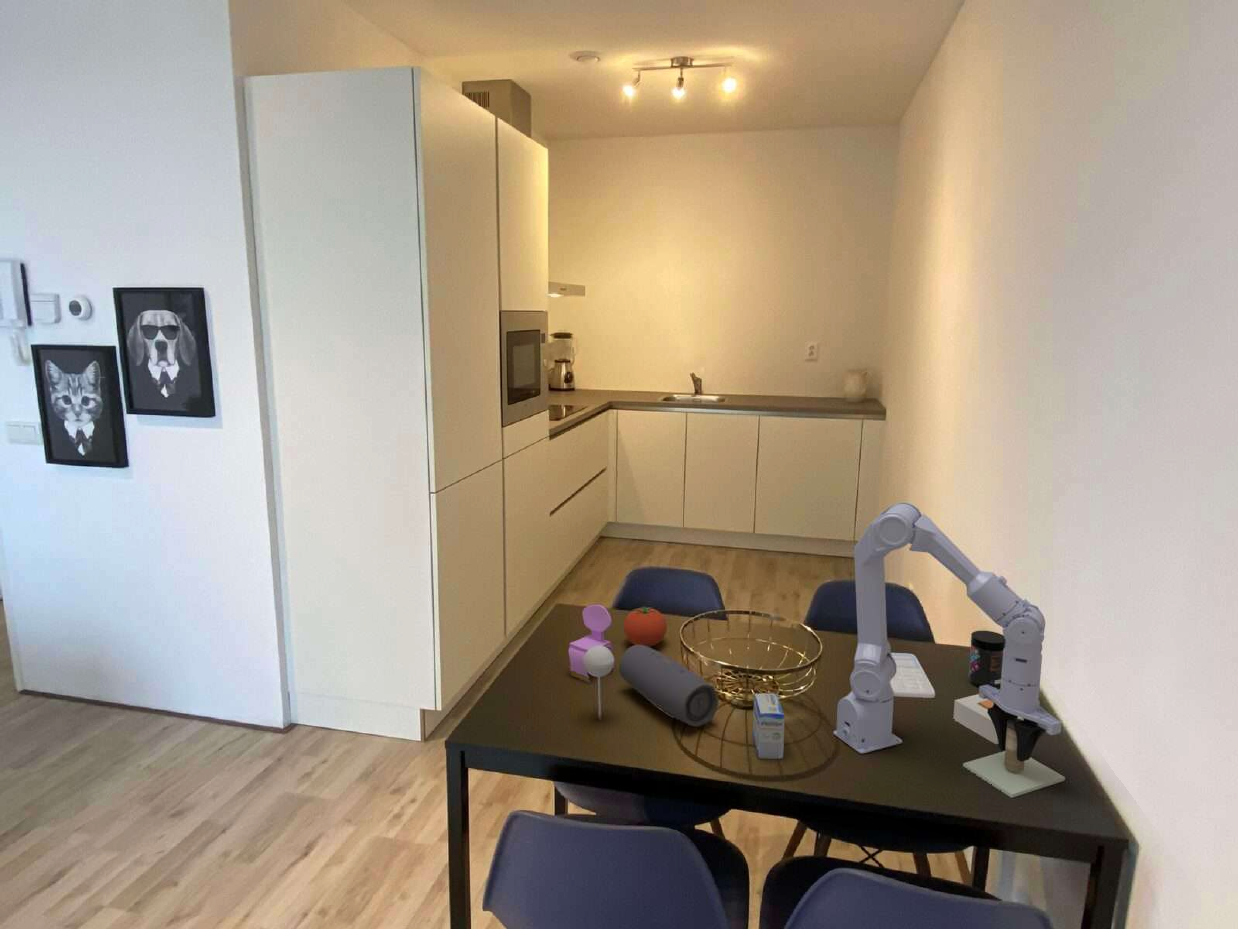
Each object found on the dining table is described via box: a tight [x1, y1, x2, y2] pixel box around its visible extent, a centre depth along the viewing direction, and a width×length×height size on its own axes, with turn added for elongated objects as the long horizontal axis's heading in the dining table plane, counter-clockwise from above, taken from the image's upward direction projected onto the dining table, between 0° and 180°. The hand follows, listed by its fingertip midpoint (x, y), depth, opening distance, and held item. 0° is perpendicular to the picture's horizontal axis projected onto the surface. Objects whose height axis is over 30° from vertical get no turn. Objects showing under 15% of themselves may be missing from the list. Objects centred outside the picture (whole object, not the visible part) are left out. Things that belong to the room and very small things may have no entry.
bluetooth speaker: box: [618, 644, 719, 727], centre depth 157 cm, size 23×9×10 cm, turn 32°
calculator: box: [854, 652, 936, 699], centre depth 171 cm, size 13×20×2 cm, turn 172°
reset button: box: [979, 700, 994, 709], centre depth 149 cm, size 4×4×3 cm
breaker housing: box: [953, 693, 1024, 745], centre depth 149 cm, size 10×10×4 cm
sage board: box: [962, 751, 1066, 799], centre depth 134 cm, size 12×10×1 cm
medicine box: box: [752, 693, 785, 760], centre depth 142 cm, size 8×4×9 cm, turn 178°
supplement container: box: [968, 630, 1006, 689], centre depth 166 cm, size 7×7×10 cm
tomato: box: [623, 605, 667, 648], centre depth 188 cm, size 10×10×10 cm
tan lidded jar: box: [1004, 718, 1024, 771], centre depth 133 cm, size 3×3×8 cm
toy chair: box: [568, 604, 615, 679], centre depth 173 cm, size 8×9×15 cm
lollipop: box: [583, 646, 615, 716], centre depth 153 cm, size 6×6×15 cm
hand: (1014, 754), depth 133 cm, fingers closed on tan lidded jar, 3 cm apart
